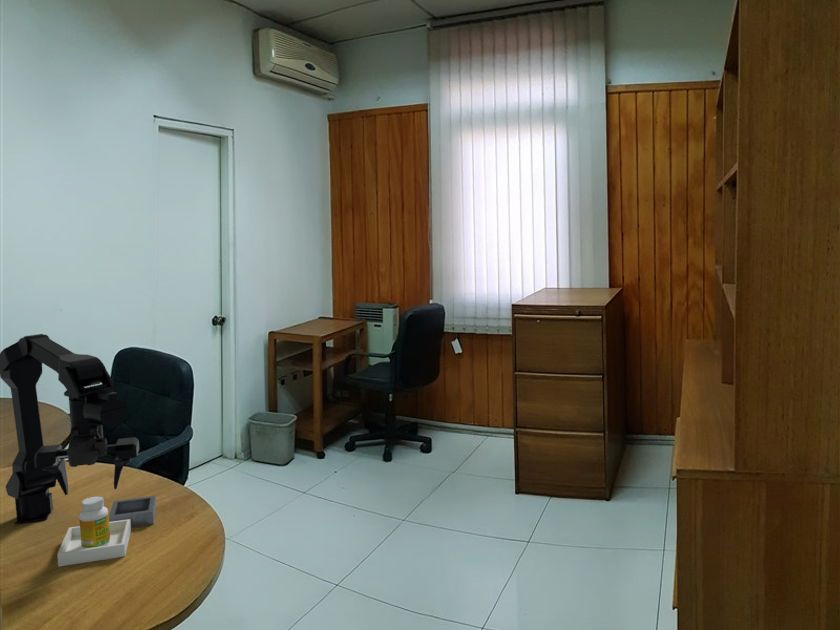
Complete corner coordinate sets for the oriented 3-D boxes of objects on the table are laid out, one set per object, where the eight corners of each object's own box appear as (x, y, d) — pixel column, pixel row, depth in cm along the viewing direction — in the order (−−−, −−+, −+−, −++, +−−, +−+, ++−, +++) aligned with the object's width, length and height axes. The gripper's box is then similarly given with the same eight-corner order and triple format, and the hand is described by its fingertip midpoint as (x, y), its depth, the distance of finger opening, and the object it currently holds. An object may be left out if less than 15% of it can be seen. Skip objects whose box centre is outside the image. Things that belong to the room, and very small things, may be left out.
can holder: (109, 530, 140) (108, 517, 139) (114, 513, 148) (113, 501, 148) (153, 524, 143) (152, 511, 142) (156, 507, 151) (155, 495, 151)
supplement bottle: (98, 552, 129) (94, 506, 128) (75, 549, 130) (71, 504, 129) (116, 539, 134) (112, 496, 133) (93, 537, 135) (90, 493, 134)
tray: (58, 566, 125) (57, 554, 124) (70, 538, 136) (69, 527, 136) (125, 556, 129) (124, 544, 128) (131, 530, 140) (130, 519, 140)
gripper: (23, 435, 119) (30, 514, 122) (131, 426, 125) (136, 501, 127) (38, 419, 130) (44, 491, 132) (137, 410, 136) (141, 480, 138)
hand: (91, 491), depth 132 cm, fingers open, 9 cm apart
